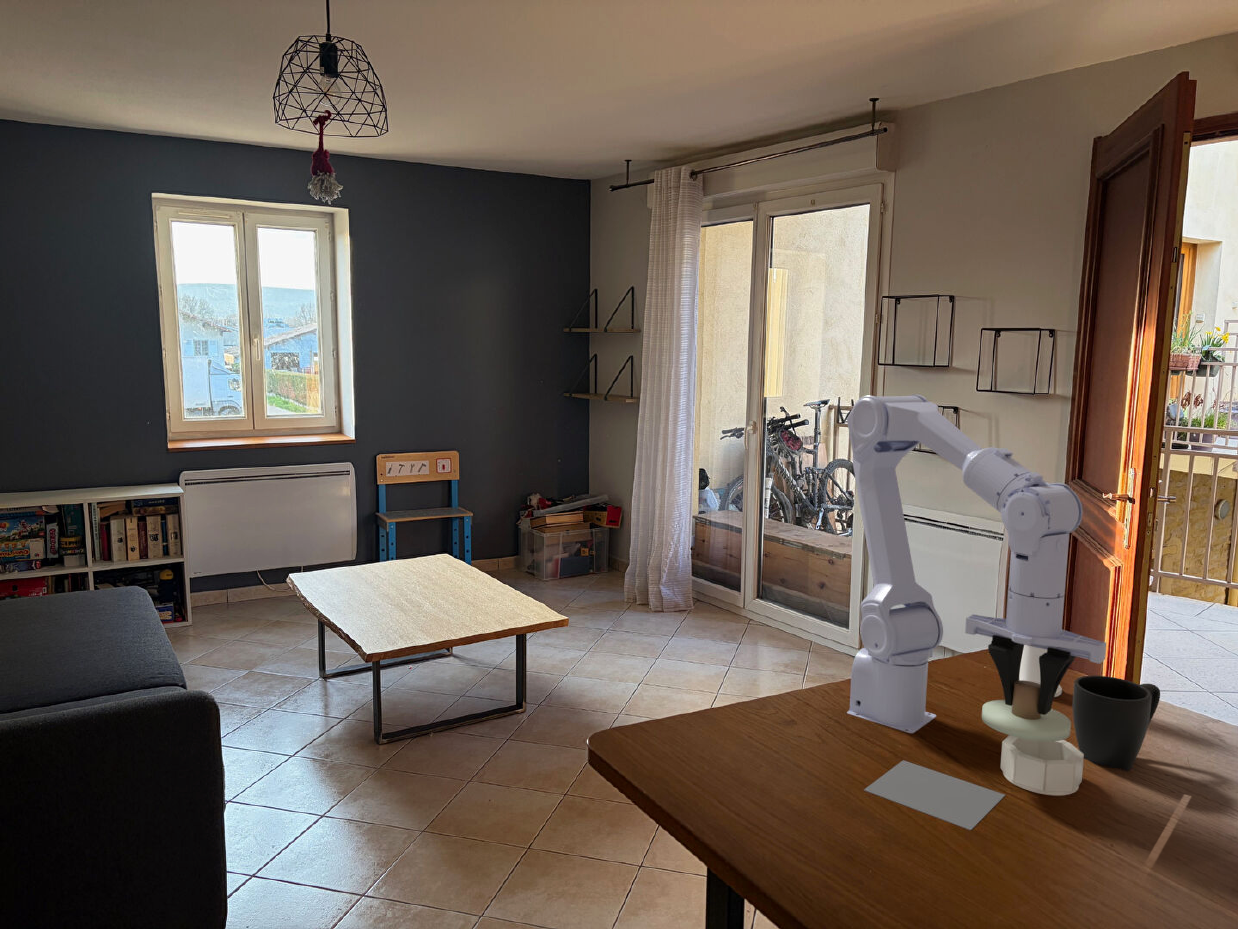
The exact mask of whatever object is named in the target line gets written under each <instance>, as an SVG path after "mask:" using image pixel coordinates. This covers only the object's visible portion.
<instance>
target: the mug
mask: <svg viewBox="0 0 1238 929" xmlns="http://www.w3.org/2000/svg"><path fill="white" fill-rule="evenodd" d="M1072 692H1073V694H1072V720H1073V726H1074V731H1075V737H1076V741H1077V745H1078V750H1079V751H1081V752H1082V753H1083V755H1084V760H1086V761H1088V762H1090V763H1093V764H1095V765H1098V766H1102V767H1104V768H1105V767H1106V768H1110V769H1118V770H1121V771H1124V772H1129V771H1130V770H1132V769H1133V765H1134V762H1135V761H1136V758H1137V757H1138V755H1139V752H1140V751H1141V748H1142V745H1143V743H1144V741H1145V737H1146V734H1147V731H1148V728H1149V725H1150V723H1151V721H1152V719H1153V717H1154V715H1155V713H1156V711H1157V708H1158V706H1159V703H1160V698H1161V690H1160V688H1159V687H1158V686H1157V685H1155V684H1153V683H1142V684H1138V683H1135V682H1132V681H1131V680H1126V679H1123V678H1118V677H1112V676H1106V675H1085V676H1084V675H1083V676H1080V677H1077V678H1076V679H1075V680H1074V682H1073V691H1072Z"/></svg>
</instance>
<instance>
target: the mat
mask: <svg viewBox="0 0 1238 929" xmlns="http://www.w3.org/2000/svg"><path fill="white" fill-rule="evenodd" d="M863 791H864V792H866V793H870V794H872V795H875V796H878V797H881V798H883V799H886V800H889V801H891V802H894V803H896V804H899V805H902V806H905V807H907V808H910V809H913V810H915V811H917V812H920V813H923V814H926V815H928V816H931V817H934V818H936V819H939V820H942V821H944V822H948V823H950V824H953V825H955V826H958V827H961V828H963V829H966V830H968V831H972V830H974V828H975V827H976V826H977V825H978V824H979V822H981V821H982V820H983V819H984V818H985V817H986V816H987V815H988V814H989V813H990V812H991V811H992V810H993V809H994V807H995V806H997V804H999V803H1000V801H1002V799H1003V798H1005V797H1006V794H1004V793H1000V792H999V791H995V790H993V789H989V788H986V787H984V786H980V785H977V784H975V783H972V782H969V781H966V780H962V779H960V778H957V777H954V776H951V775H948V774H945V773H942V772H940V771H936V770H935V769H930V768H928V767H924V766H921V765H918V764H915V763H912V762H909V761H906V760H904V759H903V760H902V761H900V762H898V764H896V765H894V766H893V767H892V768H891V769H890V770H888V771H887V772H885V773H884V774H883V775H882V776H880V777H878V778H877V779H876V780H875V781H874V782H872V783H871V784H870V785H868V786H867V787H866V788H865V789H863Z"/></svg>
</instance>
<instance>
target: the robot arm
mask: <svg viewBox="0 0 1238 929" xmlns="http://www.w3.org/2000/svg"><path fill="white" fill-rule="evenodd" d="M846 422H847V429H848V433H849V440H850V444H851V445H850V446H851V451H852V467H853V472H854V479H855V486H856V490H857V495H858V496H857V497H858V501H859V508H860V514H861V518H862V524H863V530H864V536H865V542H866V546H867V552H868V559H869V560H868V561H869V566H870V570H871V577H872V581H873V588H872V590H871V591H870V592H869V593H868V594H867V595H866V597H864V598H863V600H862V601H861V603H860V611H861V621H860V629H859V633H860V638H861V642H862V645H863V646H864V647H863V648H861V649H860V650H859V651H858V652H857V653H856V655H855V657H854V658H853V659H854V660H853V663H852V667H851V675H850V692H849V693H850V697H849V710H848V711H847V712H846V713H847V714H848V715H851V716H855V717H858V718H861V719H864V720H866V721H869V722H873V723H877V724H880V725H883V726H886V727H888V728H889V727H890V728H892V729H896V730H899V731H901V732H905V733H908V734H914V733H915V732H917V731H918V730H920V729H921V728H922V727H924V726H926V725H927V724H928V723H929V722H931V721H932V720H934V719H935V718H937V715H936V714H935V713H932V712H928V711H926V707H927V706H926V704H927V685H928V670H929V659H930V658H933V650H935V649H936V648H937V647H939V645H940V644H941V643H942V640H943V636H944V627H943V626H944V625H943V621H942V620H941V617H940V615H939V613H938V612H937V610H936V608H935V606H934V601H933V596H932V594H931V593H930V592H929V591H928V590H926V588H923V586H921V585H919V583H917V582H916V576H915V572H914V566H913V565H914V564H913V560H912V555H911V554H912V553H911V549H910V544H909V538H908V533H907V527H906V522H905V516H904V510H903V506H902V505H903V504H902V499H901V494H900V488H899V482H898V479H897V478H898V476H897V471H896V468H897V467H898V465H899V464H900V463H901V461H902V459H903V458H905V457H906V456H907V455H908V454H910V452H912V451H913V450H914V449H915V448H916V447H918V445H920V444H922V445H923V446H925V447H926V448H928V449H929V450H931V451H933V452H934V453H935V454H937V455H938V456H940V457H942V458H943V459H944V460H946V461H947V462H949V463H951V464H952V465H953V466H955V467H956V468H958V469H959V470H961V471H962V480H963V483H964V485H965V486H966V487H967V488H969V489H970V490H971V491H972V492H973V493H975V494H976V495H977V496H979V498H981V499H982V500H983V501H985V502H986V503H987V504H988V505H990V506H991V507H992V508H994V509H995V510H996V511H997V512H998V513H1000V515H1001V516H1000V517H1001V521H1002V524H1003V526H1004V527H1005V530H1006V532H1007V537H1008V540H1007V541H1008V543H1007V546H1009V550H1010V561H1009V575H1008V588H1007V601H1006V602H1007V603H1006V615H1005V616H1006V618H1001V617H1000V618H999V617H992V616H991V617H990V616H983V615H978V614H971V615H968V616H967V617H965V630H964V633H965V634H968V635H972V636H974V635H980V636H985V637H990V638H992V640H991V642H990V643H989V644H988V646H987V647H988V649H987V650H988V654H989V655H990V657H991V659H992V661H993V663H994V665H995V668H996V670H997V673H998V676H999V678H1000V682H1001V685H1002V690H1003V697H1004V700H1005V704H1006V705H1010V706H1012V702H1013V691H1014V682H1015V681H1019V674H1020V666H1021V659H1022V654H1023V649H1024V645H1028V646H1032V647H1037V648H1041V649H1046V650H1047V653H1044V654H1043V655H1041V656H1040V657H1039V665H1040V695H1039V703H1038V713H1039V714H1042V715H1046V714H1047V713H1048V712H1049V711H1051V709H1052V706H1053V702H1054V700H1055V699H1054V698H1055V697H1054V696H1055V693H1056V691H1057V688H1058V686H1059V685H1060V683H1062V680H1063V678H1064V676H1065V674H1066V673H1067V671H1068V669H1070V666H1071V665H1072V663H1073V662H1074V661H1075V659H1076V658H1082V659H1085V660H1086V659H1087V660H1089V662H1090V663H1095V664H1101V663H1102V662H1104V661H1105V660H1106V655H1107V654H1106V652H1107V642H1105V641H1100V640H1098V639H1094V638H1090V637H1087V636H1084V635H1079V634H1077V633H1075V632H1071V631H1068V630H1065V629H1063V616H1064V605H1065V604H1064V603H1065V594H1066V591H1065V590H1066V581H1067V580H1066V579H1067V570H1068V569H1067V568H1068V567H1067V566H1068V553H1069V542H1070V533H1073V532H1075V531H1076V530H1077V528H1078V527H1080V524H1081V522H1082V519H1083V515H1084V513H1083V505H1082V501H1081V499H1080V498H1079V496H1078V494H1077V493H1076V492H1075V491H1074V490H1073V489H1072V488H1071V487H1070V486H1069V485H1068V484H1065V483H1061V482H1053V483H1049V482H1046V481H1045V480H1043V479H1044V477H1043V475H1042V474H1040V473H1039V472H1037V471H1035V472H1032V471H1031V470H1029V469H1028V468H1026V467H1025V466H1024V465H1022V463H1019V461H1017V460H1016V459H1014V458H1013V454H1014V453H1013V452H1012V451H1011V450H1009V449H1008V448H1007V447H1002V448H1001V447H1000V448H999V447H995V446H991V447H985V448H982V447H981V446H980V445H978V444H977V443H976V442H975V441H974V440H972V439H971V438H970V437H969V436H968V435H967V434H965V433H964V432H963V431H961V430H960V429H959V428H958V427H957V426H956V425H955V424H953V423H952V422H951V421H950V420H949V419H948V418H946V417H945V416H944V415H943V414H942V413H940V410H939V406H938V405H937V404H936V403H934V402H931V401H929V400H928V398H926V397H925V396H923V395H920V394H911V395H904V396H902V395H901V396H900V395H899V396H898V395H897V396H895V395H894V396H893V395H892V396H890V395H889V396H888V395H887V396H875V395H864V396H862V397H859V399H858V400H857V401H856V402H855V404H854V406H853V407H852V409H851V411H850V413H849V415H848V417H847V418H846ZM901 605H902V606H903V607H897V608H893V607H896V606H901Z"/></svg>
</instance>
